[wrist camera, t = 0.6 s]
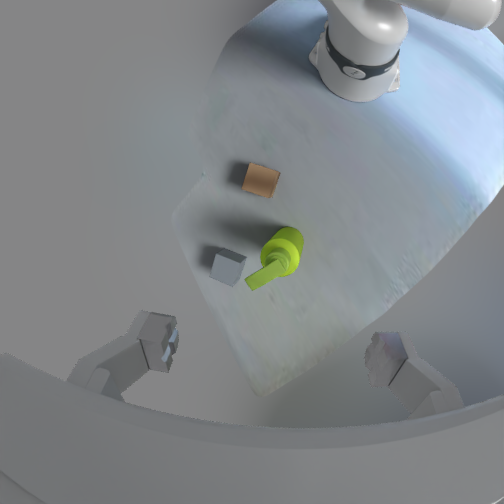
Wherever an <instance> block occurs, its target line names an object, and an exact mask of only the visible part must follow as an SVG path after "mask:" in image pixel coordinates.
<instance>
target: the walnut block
mask: <svg viewBox="0 0 504 504" xmlns="http://www.w3.org/2000/svg"><path fill="white" fill-rule="evenodd" d="M279 176H280V172H278V171H275V170H272V169H269V168H266V167H263V166H260V165H256V164H253V163H250V164H249V167H248V170H247V173H246V176H245V179H244V183H243V186H242V189H243V190H246V191H249V192H252V193H255V194H258V195H260V196H263V197H266V198H271V197H273V194H274V191H275V188H276V185H277V182H278V179H279Z"/></svg>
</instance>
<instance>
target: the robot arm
mask: <svg viewBox="0 0 504 504" xmlns="http://www.w3.org/2000/svg"><path fill="white" fill-rule="evenodd" d="M318 1H319V2H320V3H321V4H322V5H323V6H324V8H325V9H326V11H327V15H328V20H327V21H326V22H325V25H324V29H326V30H325V31H324V33H323V32H322V33H321V34H320V39H319V40H318V42H317V43H316V45H315V47H314V48H313V50H312V51H311V53H310V54H309V61H310V62H311V63H312V64H313V65H314V66H315V67H316V68H317V69H318V71H319V74H320V76H321V78H322V80H323V82H324V83H325V85H326V86H327V87H328V88H329V89H330V90H331V91H332V92H333V93H335V94H336V95H338V96H340V97H342V98H344V99H347V100H350V101H355V102H367V101H371V100H374V99H377V98H378V97H380V96H381V95H383V94H385V93H389V92H395V91H397V90H398V89H399V86H400V74H399V51H400V46H401V44H402V43H403V41H404V39H405V37H406V35H407V33H408V20H407V17H406V15H405V13H404V11H403V9H402V7H401V6H400V5H403V6H406V7H409V8H412V9H414V10H417V11H419V12H422V13H424V14H427V15H429V16H431V17H434V18H436V19H439V20H442V21H446V22H449V23H452V24H455V25H458V26H462V27H465V28H468V29H471V30H481V29H484V28H486V27H488V26H489V25H491V24H492V23H493V22H494V21H495V20H496V19H497V17H498V15H499V13H500V10H501V0H318ZM315 53H317V54H315ZM394 80H395V82H394ZM176 324H177V322H176V317H175V316H171V315H165V314H159V313H154V312H148V311H143V310H141V311H139V312H138V314H137V315H136V317H135V319H134V321H133V322H132V324H131V326H130V328H129V329H128V331H127V333H126V335H125V336H120V337H119V338H117V339H115V340H113V341H111V342H110V343H108V344H106V345H104V346H103V347H101V348H99V349H97V350H95V351H94V352H92V353H90V354H88V355H86V356H85V357H83V358H81V359H79V361H78V362H77V364H76V366H75V367H74V369H73V370H72V372H71V374H70V376H69V377H68V379H67V381H64V380H62V379H60V378H57V377H55V376H53V375H51V374H48V373H46V372H44V371H42V370H40V369H38V368H36V367H34V366H31V365H30V364H27V363H26V362H24V361H22V360H20V359H18V358H16V357H15V356H13V355H11V354H8V353H4V354H0V504H504V394H503V395H500V396H498V397H495V398H492V399H489V400H486V401H483V402H480V403H477V404H474V405H470V406H467V407H464V404H463V402H462V399H461V397H460V394H459V392H458V390H457V387H456V386H455V385H454V384H453V383H451V382H450V381H449V380H448V379H447V378H445V377H444V376H443V375H442V374H441V373H439V372H438V371H437V370H436V369H434V368H433V367H432V366H431V365H429V364H428V363H427V362H426V361H425V360H423V359H422V358H419V357H418V355H417V353H416V350H415V348H414V345H413V343H412V341H411V339H410V337H409V334H408V333H407V332H375V333H374V334H373V336H372V338H371V339H372V343H371V344H370V345H369V346H368V347H367V349H366V352H365V357H364V358H365V365H366V367H367V368H368V369H369V370H370V372H369V374H368V377H369V381H370V385H371V387H387V386H389V387H388V388H389V389H390V390H391V391H392V392H393V394H394V395H395V396H396V397H397V398H398V400H399V401H400V402H401V403H402V404H403V405H404V407H405V408H406V409H407V410H408V411H409V412H410V414H411V415H410V416H409V418H408V419H407V420H405V421H399V422H392V423H384V424H376V425H366V426H356V427H339V428H274V427H259V426H247V425H237V424H228V423H220V422H214V421H207V420H200V419H195V418H189V417H184V416H179V415H174V414H169V413H165V412H161V411H156V410H152V409H148V408H144V407H141V406H137V405H133V404H130V403H126V402H125V401H124V399H123V397H122V396H121V393H122V392H123V391H125V390H126V389H127V388H128V387H129V386H131V385H132V384H133V383H135V382H136V381H137V380H138V379H139V378H141V377H142V376H143V375H144V374H145V373H147V372H148V371H149V369H150V370H156V371H161V372H167V373H168V372H169V370H170V367H171V364H172V361H173V359H172V355H173V354H174V353H176V350H177V347H178V341H179V337H178V336H179V335H178V331H177V330H176V328H175V327H176Z"/></svg>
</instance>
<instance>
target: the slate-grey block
mask: <svg viewBox="0 0 504 504" xmlns="http://www.w3.org/2000/svg"><path fill="white" fill-rule="evenodd" d="M246 258H247V257H245V256H243V255H240V254H238V253H235V252H232V251H230V250H227V249H225V248H224V249H223V250H221V251H219V252H218V253H216V256H215V259H214V263H213V266H212V269H211V273H210V276H209V277H210V278H213V279H215V280H218V281H220V282H222V283H225V284H227V285H230V286H232V287H233V286H234V285H235V284H236V283H237V281H238V280H239V279H240V276H241V273H242V270H243V267H244V264H245V261H246Z"/></svg>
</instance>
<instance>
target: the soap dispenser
mask: <svg viewBox="0 0 504 504" xmlns="http://www.w3.org/2000/svg"><path fill="white" fill-rule="evenodd" d="M303 244H304V240H303V236H302V234H301V233H300V232H299V231H298V230H297V229H295V228H292V227H284V228H282V229H280V230H279V231H278V232H277V233H276V234H275V235H274V236H273V237H272V238H271V239H270V240H269V241H268V242H267V243H266V244H265V245H264V247H263V249H262V251H261V256H260V258H261V263H262V266H263V268H262V269H260V270H258V271H257V272H255V273H253V274H252V275H250V276H248V277H247V278H245V281H246V283H247V284H248V286H249V287H250V288H251V290H252V291H253V290H255V289H257V288H259V287H261V286H263V285H264V284H266V283H268V282H269V281H271V280H273V279H274V278H276V277H284V276H288V275H290V274H291V273H293V272H294V271H295V270H296V268H297V267H298V264H299V261H300V257H301V253H302V249H303Z"/></svg>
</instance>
